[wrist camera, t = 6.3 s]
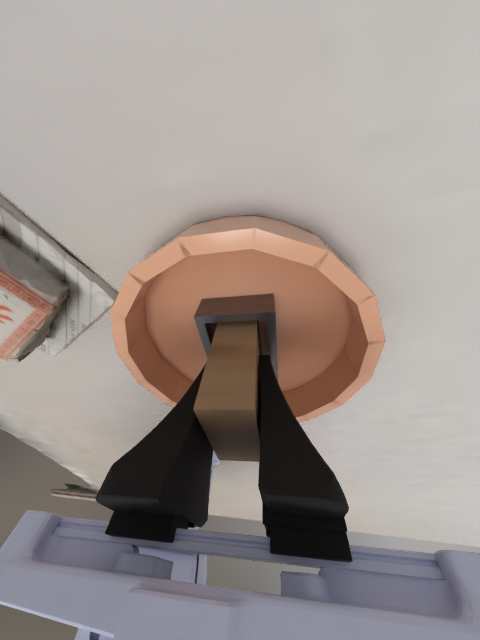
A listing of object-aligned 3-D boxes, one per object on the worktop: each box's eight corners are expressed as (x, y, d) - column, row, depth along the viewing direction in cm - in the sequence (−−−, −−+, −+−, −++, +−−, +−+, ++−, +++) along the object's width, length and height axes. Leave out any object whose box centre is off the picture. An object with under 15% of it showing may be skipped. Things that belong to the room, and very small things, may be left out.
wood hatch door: (262, 359, 16) (263, 461, 10) (232, 360, 16) (218, 459, 11) (257, 307, 13) (254, 409, 8) (221, 309, 13) (193, 409, 8)
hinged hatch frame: (276, 370, 17) (278, 391, 15) (222, 371, 17) (218, 391, 16) (273, 293, 12) (275, 311, 11) (201, 298, 13) (193, 316, 12)
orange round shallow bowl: (338, 390, 19) (351, 428, 16) (179, 392, 22) (167, 425, 19) (388, 194, 10) (438, 204, 7) (97, 234, 12) (47, 254, 9)
